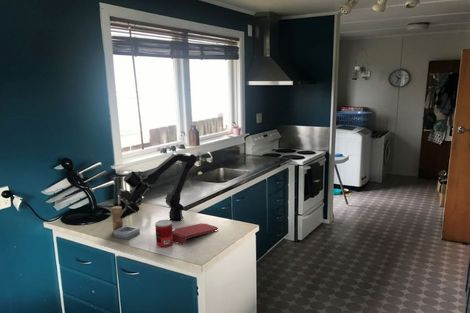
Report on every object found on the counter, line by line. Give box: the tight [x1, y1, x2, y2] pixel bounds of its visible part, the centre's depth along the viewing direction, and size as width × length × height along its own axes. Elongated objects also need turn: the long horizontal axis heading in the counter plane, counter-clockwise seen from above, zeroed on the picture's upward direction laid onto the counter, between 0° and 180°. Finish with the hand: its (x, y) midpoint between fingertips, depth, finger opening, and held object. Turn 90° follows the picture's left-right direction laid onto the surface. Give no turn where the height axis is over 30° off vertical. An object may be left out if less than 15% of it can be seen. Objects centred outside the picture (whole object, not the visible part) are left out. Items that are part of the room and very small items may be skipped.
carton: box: [172, 222, 219, 245], centre depth 189 cm, size 12×5×25 cm
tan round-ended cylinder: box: [111, 205, 124, 233], centre depth 192 cm, size 5×5×13 cm
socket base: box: [113, 224, 141, 241], centre depth 188 cm, size 9×9×3 cm
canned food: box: [154, 219, 174, 248], centre depth 176 cm, size 8×8×11 cm
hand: (118, 215), depth 192 cm, fingers open, 9 cm apart
